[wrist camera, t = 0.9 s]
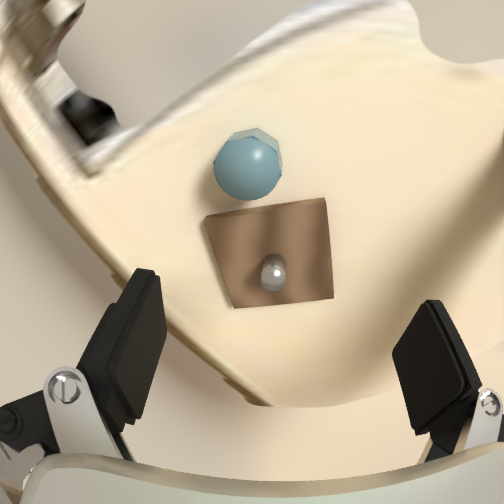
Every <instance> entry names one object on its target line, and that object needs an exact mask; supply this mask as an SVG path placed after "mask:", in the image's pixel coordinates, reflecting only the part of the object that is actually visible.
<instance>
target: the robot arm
mask: <svg viewBox="0 0 504 504" xmlns="http://www.w3.org/2000/svg"><path fill="white" fill-rule="evenodd" d="M166 335H167V328H166V321H165V314H164V307H163V299H162V291H161V283H160V277H159V276H158V275H155V272H154V271H153V270H147V269H141V268H137V269H136V270H135V272H134V273H133V275H132V277H131V278H130V280H129V282H128V283H127V285H126V287H125V289H124V290H123V292H122V294H121V296H120V298H119V299H118V301H117V303H112V304H110V305H109V307H108V308H107V310H106V311H105V313H104V315H103V317H102V319H101V320H100V322H99V324H98V326H97V328H96V330H95V332H94V334H93V335H92V337H91V339H90V341H89V343H88V345H87V347H86V349H85V351H84V353H83V355H82V357H81V359H80V361H79V363H78V365H77V367H76V369H75V368H73V367H67V366H65V367H60V368H57V369H55V370H53V371H52V372H51V373H50V374H49V375H48V376H47V378H46V380H45V382H44V386H43V390H41V391H38V392H36V393H33V394H31V395H28V396H26V397H23V398H21V399H18V400H16V401H13V402H10V403H8V404H5V405H3V406H2V407H0V504H504V414H502V413H503V404H502V400H501V398H500V396H499V395H498V394H497V392H495V391H494V390H493V389H490V388H485V389H482V390H481V391H480V392H478V389H479V388H480V387H481V386H482V383H481V381H480V378H479V376H478V373H477V371H476V369H475V367H474V364H473V362H472V360H471V358H470V356H469V353H468V351H467V349H466V347H465V345H464V343H463V341H462V339H461V337H460V335H459V333H458V331H457V329H456V327H455V325H454V323H453V321H452V320H451V318H450V316H449V314H448V312H447V310H446V309H445V307H444V305H443V303H442V302H441V301H440V300H426V301H425V302H424V303H423V304H421V306H420V307H419V309H418V311H417V312H416V314H415V316H414V317H413V319H412V321H411V322H410V324H409V326H408V327H407V329H406V330H405V332H404V333H403V335H402V337H401V338H400V340H399V341H398V343H397V344H396V346H395V347H394V349H393V352H392V357H393V361H394V364H395V367H396V371H397V374H398V378H399V381H400V385H401V388H402V391H403V395H404V399H405V403H406V407H407V411H408V415H409V419H410V423H411V427H412V428H413V429H414V430H415V435H416V436H417V435H422V434H426V433H428V432H430V437H429V440H428V442H427V444H426V446H425V449H424V451H423V453H422V455H421V457H420V459H419V461H418V463H417V465H414V466H410V467H406V468H402V469H397V470H393V471H387V472H382V473H377V474H371V475H365V476H357V477H350V478H341V479H330V480H317V481H251V480H238V479H227V478H218V477H211V476H203V475H197V474H190V473H184V472H178V471H173V470H168V469H163V468H159V467H154V466H150V465H145V464H141V463H137V462H136V460H135V459H134V457H133V455H132V453H131V451H130V449H129V447H128V446H127V444H126V442H125V440H124V438H123V436H122V434H121V432H122V431H123V429H124V426H125V423H127V424H131V425H134V423H135V420H136V419H140V418H141V416H142V414H143V410H144V407H145V403H146V400H147V397H148V393H149V390H150V386H151V383H152V380H153V377H154V374H155V371H156V367H157V364H158V361H159V358H160V355H161V352H162V348H163V345H164V342H165V340H166ZM35 465H36V466H35ZM34 466H35V467H34ZM33 467H34V469H33V470H32V472H30V469H31V468H33ZM30 473H31V474H30ZM28 474H30V476H29V478H28V480H27V483H26V485H25V488H24V491H23V488H22V485H23V480H24V479H25V477H26V476H27V475H28Z"/></svg>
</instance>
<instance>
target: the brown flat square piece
mask: <svg viewBox="0 0 504 504" xmlns="http://www.w3.org/2000/svg"><path fill="white" fill-rule="evenodd" d="M204 224H205V227H206V230H207V233H208V236H209V239H210V242H211V245H212V248H213V251H214V254H215V257H216V260H217V262H218V265H219V268H220V271H221V274H222V277H223V279H224V282H225V285H226V288H227V291H228V293H229V296H230V299H231V302H232V304H233V307H234V309H236V308H248V307H259V306H270V305H280V304H290V303H299V302H308V301H316V300H324V299H332V298H334V289H333V273H332V259H331V247H330V236H329V226H328V216H327V207H326V201H325V198H318V199H310V200H303V201H296V202H289V203H282V204H275V205H269V206H262V207H256V208H250V209H244V210H238V211H232V212H226V213H220V214H214V215H209V216H206V218H205V220H204ZM269 254H279V255H281V256H282V257H283V258H284V259H285V261H286V280H285V285H284V287H283V288H281V289H279V290H276V291H271V290H267V289H265V288H264V287H263V286H262V284H261V273H262V265H263V260H264V258H265V257H266V256H267V255H269Z"/></svg>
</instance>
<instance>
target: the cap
mask: <svg viewBox="0 0 504 504" xmlns="http://www.w3.org/2000/svg"><path fill="white" fill-rule="evenodd" d="M214 166H215V167H214V170H215V176H216V179H217V182H218V184H219V185H220V187H221V188H222V189H223V190H224V191H225V192H226V193H227V194H229V195H230V196H232V197H234V198H237V199H241V200H256V199H259V198H262V197H264V196H266V195H268V194H269V193H270V192H271V191H272V190H273V188H274V187H275V186H276V184H277V182H278V180H279V179H280V177H281V176H282V160H281V155H280V150H279V145H278V141H277V140H275V139H274V138H272V137H271V136H269V135H268V134H266V133H264V132H263V131H261V130H260V129H258V128H256V129H251V130H246V131H241V132H236V133H234V134H233V135H232V136H231V137H230V138H229V139H228V140H227V142H226V143H225V145H224V146H223V148H222V150H221V151H220V152H219V154H218V156H217V158H216V159H215V161H214Z"/></svg>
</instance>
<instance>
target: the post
mask: <svg viewBox="0 0 504 504" xmlns="http://www.w3.org/2000/svg"><path fill="white" fill-rule="evenodd" d="M285 280H286V261H285V259H284V258H283V257H282V256H281V255H279V254H269V255H267V256H266V257H265V258H264V260H263V265H262V273H261V284H262V286H263V287H264V288H265V289H267V290H271V291H276V290H279V289H281V288H283V287H284V285H285Z"/></svg>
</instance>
